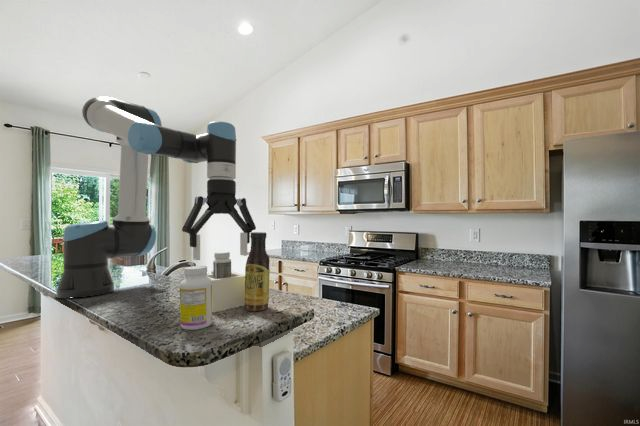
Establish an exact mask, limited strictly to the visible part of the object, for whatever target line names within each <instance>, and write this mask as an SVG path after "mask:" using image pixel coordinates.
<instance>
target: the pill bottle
mask: <svg viewBox="0 0 640 426" xmlns="http://www.w3.org/2000/svg"><path fill="white" fill-rule="evenodd" d="M230 253H231V252H230V251H217V252H214V256H213V257H214V259H213V261H212V262H213V263H212V266H213V267H212V269H213V270H212V271H213V278H214V279H220V278H227V277H231V272H232V259H231V258H230V257H231V256H230V255H231V254H230Z"/></svg>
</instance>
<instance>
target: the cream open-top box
mask: <svg viewBox="0 0 640 426" xmlns="http://www.w3.org/2000/svg"><path fill="white" fill-rule="evenodd" d="M206 277H208V278H210V279H211V281H212V312H214V313H218V312H217V311H219V312H222V311H221V310H223V311H226V310H225V309H228V310H230V309H229V308H233V309H235V308H234V307H237V308H240V307H239V306H242V307H245V306H244V305H245V302H244V300H245V273H239V272H234V271H231V277H227V278H220V279H214V278H213V270H211V271H210V272H207V273H206Z"/></svg>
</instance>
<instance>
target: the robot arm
mask: <svg viewBox="0 0 640 426" xmlns="http://www.w3.org/2000/svg"><path fill="white" fill-rule="evenodd" d="M81 111H82V117H83V119H84V121H85V123H86V124H87V125H88V126H90V127H91V128H93V130H96V131H98V132H102V133H107V134H111V135H113V136H116V143H118V144H119V145H120V165H119V182H118V184H119V185H118V188H119V189H118V205H117V206H118V208H117V214H116V215H115V216H114V217H113V218H112V224H109V222H108V221H107V220H97V221H95V220H94V221H85V222H78V223H72V224H68V225H66V226H65V228H64V230H63V231H64V232H63V238H62V242H63V273H62V275H61V277H60V280H59V283H58V285H57V288H56V298H58V299H71V298H70V297H73V298H72V299H75V298H74V297H83V298H88V297H87V296H91V297H93V296H92V295H97V296H101V295H100V294H102V295H106V294H109V293H112V292H113V291H115V283H114V280H113V277H112V276H111V275H112V274H111V273H110V270H109V262H108V261H109V259H118V258H126V257H127V258H128V257H138V256H144V255H147V254H149V253H150V252H151V250H153V248H154V247H155V244H156V241H157V240H156V239H157V231H156V228H155V226H154V225H153V224H152V223H151V221H150V220H151V219H149V217H147V215H146V209H147V190H148V173H149V155H154V156H162V157H168V158H172V159H179V160H182V161H184V162H185V163H188V164H199V163H203V162H206V178H207V179H208V180H207V182H206V194H207V195H206V197H204V196H202V195H201V196H200V195H199V196H196V197H195V198H194V204H193V207H192V209H191V210H190V212H189V215H188V216H187V218H186V219H185V220H186V221H185V223H183V226H182V228H181V230H182V233H187V234H188V235H189V246H190V247H191V248H193V249H192V251H193V252H192V257H193V259H192V260H195V261H201V234H199V231H200V230H201V229H202V228H203V227H204V225H205V224H206V223H207V222H208V221H209V220H210V218H212V216H213V215H214V214H215V215H217V214H219V215H220V214H222V215H223V214H225V215H226V214H227V215H229V216H230V217H231V218H232V219H233V220H234V222H235V223H236V224H237V226H238V227H239V228H240V229H241V231H242V232H239V235H240V236H239V237H240V239H239V241H240V242H239V243H240V245H239V247H240V248H239V254H240V256H243V257H244V256H245V257H248V244H250V243H251V237H250V236H251V232H253V231H255V230H256V229H257V227H256V224H255V222H254V219H253V217H252V215H251V213H250V211H249V208H248V205H247V199H246V198H245V197H243V198H242V197H240V198H238V199H237V198H236V192H237V191H236V190H237V189H236V188H237V187H236V186H237V185H236V184H237V182H236V180H235V179H236V178H237V177H236V174H237V173H236V171H237V170H236V169H237V167H236V166H237V162H236V161H237V160H236V159H237V155H236V154H237V150H236V149H237V144H236V143H237V135H236V127H235V126H234V124H232V123H230V122H227V121H219V120H217V121H211V122H208V124H207V128H206V133H203V134H193V133H190V132H185V131H181V130H177V129H172V128H168V127H165V126H162V121H161V118H160V115H158V112H156V111H155V110H154V109H151V108H148V107H146V106H144V105H139V104H135V103H131V102H128V101H125V100H120V99H117V98H114V97H109V96H96V97H92V98H90V99H89V100H87V101H86V102H85V103H84V105H83V107H82V110H81ZM205 204H206V205H207V209H205V211H204V212H203V214H202V215H201V216H200V217H199V219H198V220H197V218H198V215H199V214H200V212H201V210H202V208H203V206H204V205H205ZM236 205H237V206H238V209H239V211H240V213H241V214H240V213H239V211H238V210H237V209H236ZM241 215H242V216H241ZM196 220H197V221H196Z"/></svg>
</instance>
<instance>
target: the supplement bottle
mask: <svg viewBox="0 0 640 426" xmlns="http://www.w3.org/2000/svg"><path fill="white" fill-rule="evenodd" d="M183 273H184V275H185V278H184V279H182V280H181V281H180V283H179V317H180V318H179V321H180V323H179V325H180V328H181V329H183V330H188V331H194V330H195V331H197V330H202V329H205V328H207V327H209V326H211V325H212V324H213V313H212V281H211V279H210V278H208V277H206V273H208V266H206V265H193V266H187V267H184V272H183Z"/></svg>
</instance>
